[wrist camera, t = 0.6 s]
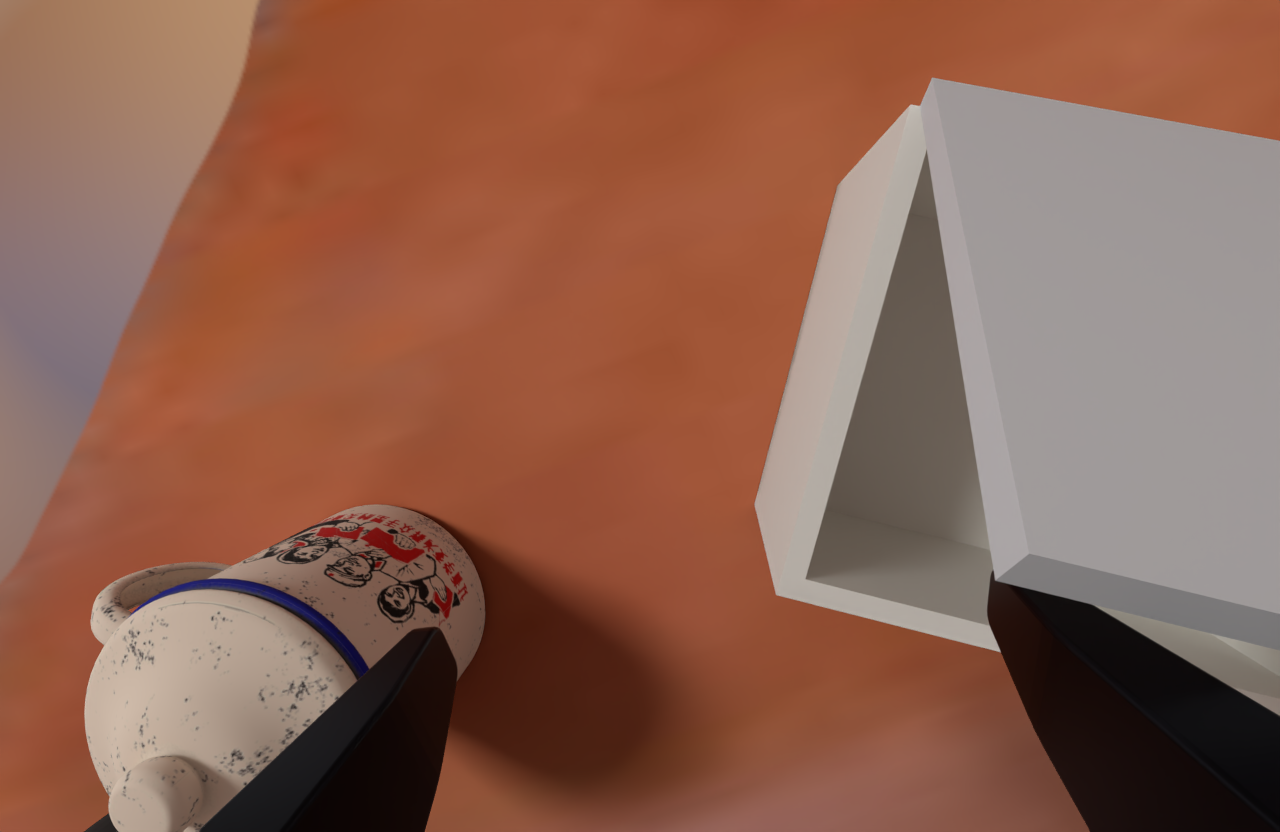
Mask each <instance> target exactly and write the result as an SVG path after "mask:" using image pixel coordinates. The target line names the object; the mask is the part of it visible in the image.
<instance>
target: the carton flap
mask: <svg viewBox="0 0 1280 832" xmlns="http://www.w3.org/2000/svg"><path fill="white" fill-rule="evenodd" d="M920 109H921V116H922V122H923V128H924V135H925V141H926V147H927V154H928V160H929V166H930V172H931V179H932V185H933V191H934V198H935V204H936V210H937V217H938V223H939V229H940V236H941V242H942V248H943V254H944V261H945V267H946V273H947V280H948V286H949V292H950V299H951V305H952V311H953V317H954V324H955V330H956V336H957V343H958V349H959V355H960V362H961V368H962V374H963V380H964V387H965V393H966V399H967V406H968V412H969V418H970V425H971V431H972V437H973V443H974V450H975V456H976V462H977V469H978V475H979V481H980V488H981V494H982V500H983V507H984V513H985V519H986V525H987V532H988V538H989V544H990V551H991V557H992V563H993V570H994V576H995V581H999V582H1003V583H1007V584H1011V585H1015V586H1019V587H1023V588H1027V589H1031V590H1036V591H1040V592H1044V593H1048V594H1052V595H1056V596H1060V597H1064V598H1068V599H1072V600H1076V601H1080V602H1084V603H1088V604H1092V605H1097V606H1101V607H1105V608H1109V609H1113V610H1117V611H1121V612H1125V613H1129V614H1133V615H1137V616H1141V617H1145V618H1149V619H1154V620H1158V621H1162V622H1166V623H1170V624H1174V625H1178V626H1182V627H1186V628H1190V629H1194V630H1198V631H1202V632H1206V633H1210V634H1215V635H1219V636H1223V637H1227V638H1231V639H1235V640H1239V641H1243V642H1247V643H1251V644H1255V645H1259V646H1263V647H1267V648H1272V649H1276V650H1280V141H1277V140H1272V139H1266V138H1261V137H1255V136H1250V135H1244V134H1239V133H1233V132H1228V131H1222V130H1217V129H1211V128H1206V127H1200V126H1195V125H1189V124H1184V123H1178V122H1173V121H1167V120H1162V119H1156V118H1151V117H1145V116H1140V115H1134V114H1129V113H1123V112H1118V111H1112V110H1107V109H1101V108H1096V107H1090V106H1085V105H1079V104H1074V103H1068V102H1063V101H1057V100H1052V99H1046V98H1041V97H1035V96H1030V95H1024V94H1019V93H1013V92H1008V91H1002V90H997V89H992V88H986V87H981V86H975V85H970V84H964V83H959V82H953V81H948V80H942V79H937V78H932V80H931V82H930V84H929V86H928V89H927V91H926V93H925V96H924V98H923V100H922V103H921V105H920Z"/></svg>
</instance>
